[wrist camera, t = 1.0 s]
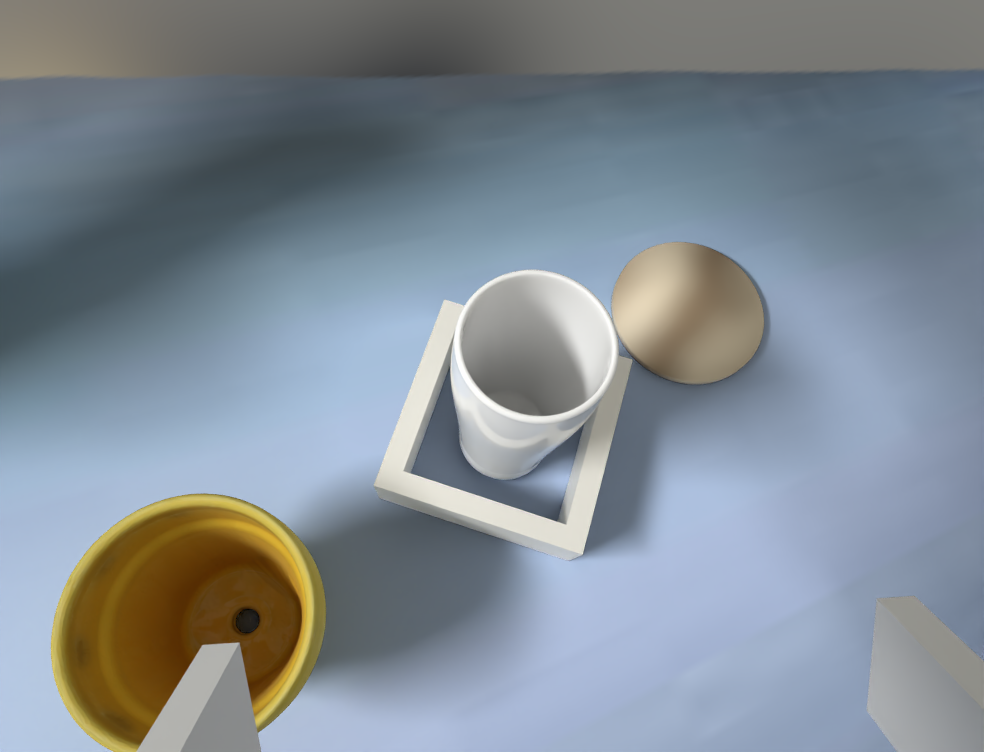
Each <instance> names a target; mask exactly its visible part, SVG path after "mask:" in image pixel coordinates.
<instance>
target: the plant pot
mask: <svg viewBox="0 0 984 752" xmlns="http://www.w3.org/2000/svg"><path fill="white" fill-rule="evenodd" d="M244 609H253V610H255V611H256V612H257V613H258V614H259V617H260V622H259V625H258V627H257V628H256V629H255V630H254V631H253V632H251V633H242V632H241V631H239V630H238V628H237V626H236V617H237V615H238V614H239V613H240V612H241V611H242V610H244ZM325 623H326V602H325V594H324V588H323V584H322V580H321V577H320V574H319V571H318V568H317V566H316V564H315V562H314V560H313V558H312V556H311V554H310V553H309V551H308V550H307V548H306V547H305V545H304V544H303V543H302V541H301V540H300V539H299V538H298V537H297V536H296V535H295V534H294V533H293V531H292V530H290V529H289V528H288V527H287V526H286V525H285V524H284V523H282V522H281V521H280V520H279V519H277V518H276V517H274V516H273V515H271V514H270V513H268V512H267V511H265V510H263V509H262V508H260V507H258V506H256V505H253V504H251V503H249V502H246V501H244V500H241V499H237V498H234V497H230V496H225V495H217V494H189V495H182V496H177V497H172V498H168V499H164V500H161V501H158V502H155V503H153V504H150V505H148V506H146V507H143V508H141V509H139V510H137V511H135V512H134V513H132V514H130V515H129V516H127V517H125V518H124V519H122V520H121V521H119V522H118V523H117V524H115V525H114V526H113V527H111V528H110V529H109V530H108V531H107V532H106V533H104V534H103V535H102V536H101V537H100V538H99V539H98V540H97V541H96V542H95V543H94V544H93V545H92V546H91V547H90V548H89V550H88V551H87V552H86V553H85V554H84V556H83V557H82V559H81V560H80V561H79V563H78V564H77V566H76V567H75V569H74V570H73V572H72V574H71V575H70V577H69V579H68V581H67V583H66V585H65V587H64V590H63V592H62V595H61V598H60V600H59V603H58V606H57V609H56V613H55V617H54V623H53V629H52V638H51V659H52V668H53V673H54V678H55V682H56V685H57V688H58V691H59V693H60V696H61V698H62V700H63V702H64V704H65V706H66V708H67V710H68V711H69V713H70V714H71V716H72V718H73V719H74V720H75V722H76V723H77V724H78V725H79V726H80V727H81V728H82V729H83V730H84V731H85V732H86V733H87V734H88V735H89V736H90V737H91V738H93V739H94V740H95V741H96V742H98V743H99V744H101V745H102V746H104V747H106V748H108V749H110V750H112V751H113V752H136V751H137V750H138V748H139V747H140V745H141V743H142V742H143V740H144V739H145V737H146V735H147V734H148V732H149V731H150V729H151V727H152V726H153V724H154V722H155V721H156V719H157V718H158V716H159V714H160V713H161V711H162V710H163V708H164V706H165V705H166V703H167V702H168V700H169V698H170V697H171V695H172V693H173V692H174V690H175V689H176V687H177V685H178V684H179V682H180V681H181V679H182V677H183V676H184V674H185V673H186V671H187V669H188V668H189V666H190V664H191V663H192V661H193V660H194V658H195V656H196V655H197V653H198V652H199V650H200V648H201V647H202V645H210V644H224V643H240V648H241V653H242V658H243V663H244V668H245V673H246V678H247V683H248V688H249V693H250V698H251V703H252V708H253V713H254V718H255V723H256V728H257V733H258V732H259V731H261V730H262V729H264V728H265V727H266V726H268V725H269V724H270V723H271V722H272V721H274V720H275V719H276V718H277V717H278V716H279V715H280V714H281V713H282V712H283V711H284V710H285V709H286V708H287V707H288V706H289V705H290V704H291V702H292V701H293V700H294V699H295V698H296V696H297V695H298V693H299V692H300V691H301V689H302V688H303V686H304V685H305V683H306V681H307V680H308V678H309V676H310V674H311V672H312V670H313V668H314V665H315V663H316V661H317V658H318V655H319V652H320V649H321V646H322V642H323V637H324V631H325Z"/></svg>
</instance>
